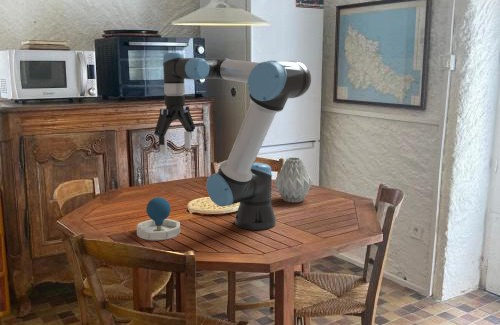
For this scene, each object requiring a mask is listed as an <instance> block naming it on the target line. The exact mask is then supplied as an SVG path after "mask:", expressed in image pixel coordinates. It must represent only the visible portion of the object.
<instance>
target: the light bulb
mask: <svg viewBox="0 0 500 325" xmlns="http://www.w3.org/2000/svg"><path fill="white" fill-rule="evenodd" d="M171 210H172V209H171V204H170V202H169V200H167V199H166V198H164V197H161V196H160V197H159V196H158V197H154V198H151V199H150V200H149V201H148V203H147V204H146V215H147V216H148V218H149V219H150V220H154V221H155V224H156V226H157V230H158V231H160V230H161V229H162V224H163V221H164V220H165V219H168V217H169V216H170V213H171Z"/></svg>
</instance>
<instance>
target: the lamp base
mask: <svg viewBox="0 0 500 325" xmlns="http://www.w3.org/2000/svg"><path fill="white" fill-rule="evenodd" d="M136 235H137V237H138V238H140V239H142V240H146V241H166V240H170V239H174V238H176V237H178V236H179V235H181V222H180V221H178V220H175V219H170V218H166V219H165V220H164V221H163V224H162V229H161V230H160V231H158V230H157V226H156V224H155V221H154V220H152V219H148V220H144V221H142V222H139V223H137V226H136Z"/></svg>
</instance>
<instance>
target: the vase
mask: <svg viewBox="0 0 500 325" xmlns="http://www.w3.org/2000/svg"><path fill="white" fill-rule="evenodd" d="M274 184H275V186H276V189H277V192H278V193H279V195H280V197H282V200H283V201H284V202H287V203H302V202H303V201H304V199H305V197H306V196H307V194H308V193H309V190H310V189H311V186H312V185H313V181H312V178H311V176H310V174H309V172H308V170H307V167H306V166H305V165H304V162H303V161H302V158H301V157H287V158H286V160H285V161H284V163H283V164H282V165H281V167H280V171H279V173H278V174H277V175H276V177H275V180H274Z"/></svg>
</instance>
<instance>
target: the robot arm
mask: <svg viewBox="0 0 500 325" xmlns="http://www.w3.org/2000/svg"><path fill="white" fill-rule="evenodd" d="M162 56H163V57H162V58H163V62H162V65H163V67H162V68H163V87H164V88H163V90H164V92H163V93H164V94H165V96H164V105H165V106H166V108H160V109H159V116H158V120H157V122H156V126H155V129H154V133H153V134H154V135H155V136H158V144H159V148H160V149H159V150H160V151H159V152H160V154H164V155H166V154H167V155H168V142H167V140H168V139H167V136H166V134H167V132H168V130H169V127H170V126H171V124H172V122H174V121H176V120H178V121H179V122H180V124H181V125H182V127H183V128H184V130H185V131H184V132H183V136H184V137H183V138H184V149H189V150H191V149H192V138H193V137H192V133H193V132H194V130H196V126H195V122H194V121H193V118H192V116H191V115H192V114H191V112H190V106H186V105H185V104H186V101H185V100H186V99H185V98H186V97H185V94H186V92H185V91H186V90H185V89H186V88H185V80H192V81H193V80H194V81H196V80H198V81H200V80H208V79H209V80H210V79H211V80H213V79H214V80H215V79H218V80H224V81H225V80H226V81H233V82H239V83H246V84H247V85H248V87H247V89H248V92H249V94H248V97H249V100H250V104H249V107H248V109H247V112H246V114H245V117H244V119H243V121H242V123H241V126H240V128H239V131H238V133H237V136H236V139H235V141H234V143H233V146H232V148H231V150H230V152H229V155H228V158H227V159H226V160H224V161H222V162H221V163H220V165H219V167H218V170H217V172H216V173H212V174H211V175H209V176H208V177H207V179H206V185H205V186H206V191H207V194H208V197H209V199H210V200H211V201H212V202H213V204H215V205H216V206H219V207H230V206H232V205H235V204H238V203H239V205H238V209H237V210H236V211H237V212H236V215H235V217H234V218H235V219H234V220H235V221H234V223H235V226H236V227H238V228H240V229H244V230H249V231H250V230H251V231H258V230H259V231H261V230H268V229H271V228H273V227H275V226H276V222H277V219H276V217H277V216H276V215H275V211H274V209H273V205H272V180H273V178H272V177H273V175H272V167H271V165H269V164H267V163H263V162H255V161H256V159H257V157H258V154H259V153H260V150H261V148H262V146H263V143H264V141H265V138H266V137H267V135H268V132H269V130H270V128H271V125H272V122H273V121H274V118H275V116H276V114H277V113H279V112H282V111H283V110H284V108H285V106H286V104H287V102H288V99H295V98H299V97H301V96H303V95H304V94H306V93H307V92H308V90H309V89H310V87H311V84H312V74H311V71H310V70H309V68H308V67H307V66H306V64H304V63H302V62H300V61H295V60H288V61H287V60H286V61H285V60H283V61H282V60H281V61H280V60H279V61H278V60H267V61H262V62H255V61H246V60H240V59H239V60H238V59H236V60H235V59H229V58H226V57H218V58H217V57H215V58H214V57H211V58H206V57H184V53H183V52H165V53H164V54H163V55H162Z"/></svg>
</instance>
